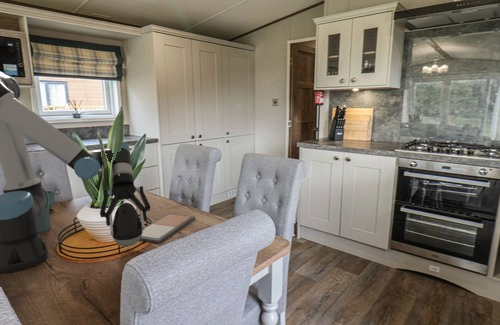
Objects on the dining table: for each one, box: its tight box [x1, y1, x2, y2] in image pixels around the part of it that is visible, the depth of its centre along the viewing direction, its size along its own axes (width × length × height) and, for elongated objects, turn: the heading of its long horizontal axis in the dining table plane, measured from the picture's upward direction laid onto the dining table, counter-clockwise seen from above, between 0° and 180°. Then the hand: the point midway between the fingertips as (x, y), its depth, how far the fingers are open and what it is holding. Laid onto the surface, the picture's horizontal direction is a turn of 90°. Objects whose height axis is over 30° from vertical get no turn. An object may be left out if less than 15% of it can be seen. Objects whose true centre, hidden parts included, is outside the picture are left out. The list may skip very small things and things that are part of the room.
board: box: [141, 213, 196, 244], centre depth 130 cm, size 26×14×1 cm, turn 159°
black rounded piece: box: [111, 202, 143, 247], centre depth 109 cm, size 10×10×15 cm
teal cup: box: [36, 203, 52, 234], centre depth 131 cm, size 10×10×12 cm
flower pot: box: [46, 190, 55, 210], centre depth 157 cm, size 9×9×9 cm
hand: (127, 231), depth 107 cm, fingers closed on black rounded piece, 9 cm apart
